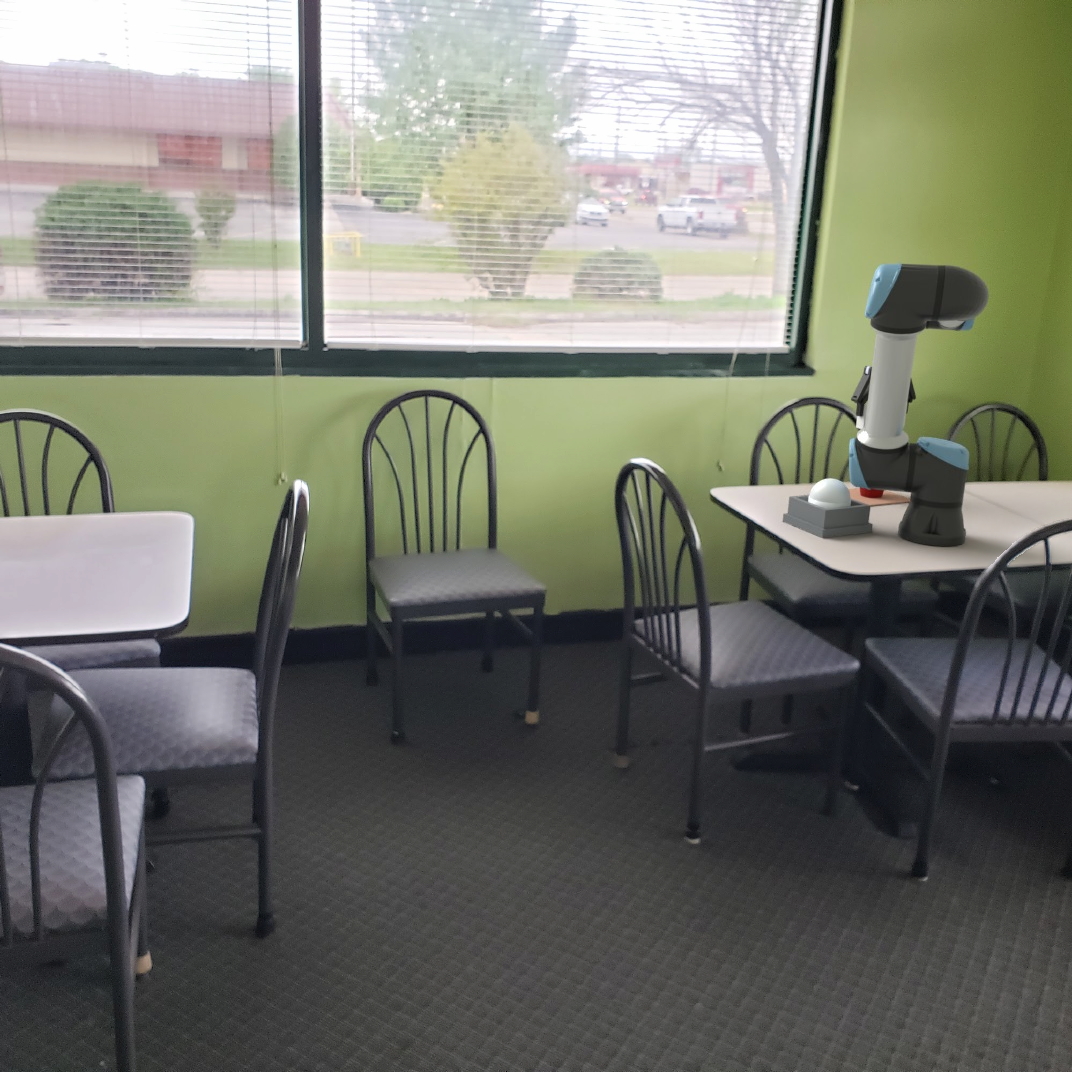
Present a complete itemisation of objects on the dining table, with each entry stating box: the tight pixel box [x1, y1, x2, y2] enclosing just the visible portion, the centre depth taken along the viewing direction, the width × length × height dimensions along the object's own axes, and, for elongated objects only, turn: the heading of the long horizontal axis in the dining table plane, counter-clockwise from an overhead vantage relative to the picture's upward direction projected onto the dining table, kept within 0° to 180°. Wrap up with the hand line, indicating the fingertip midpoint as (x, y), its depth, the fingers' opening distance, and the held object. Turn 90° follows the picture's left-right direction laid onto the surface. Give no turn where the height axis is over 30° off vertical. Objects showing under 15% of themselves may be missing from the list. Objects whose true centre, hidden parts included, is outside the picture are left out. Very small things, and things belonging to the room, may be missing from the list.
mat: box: [848, 487, 910, 507], centre depth 281 cm, size 16×16×1 cm
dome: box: [808, 478, 851, 509], centre depth 249 cm, size 10×10×10 cm
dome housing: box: [782, 494, 873, 539], centre depth 250 cm, size 15×15×6 cm
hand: (880, 427), depth 275 cm, fingers open, 13 cm apart
